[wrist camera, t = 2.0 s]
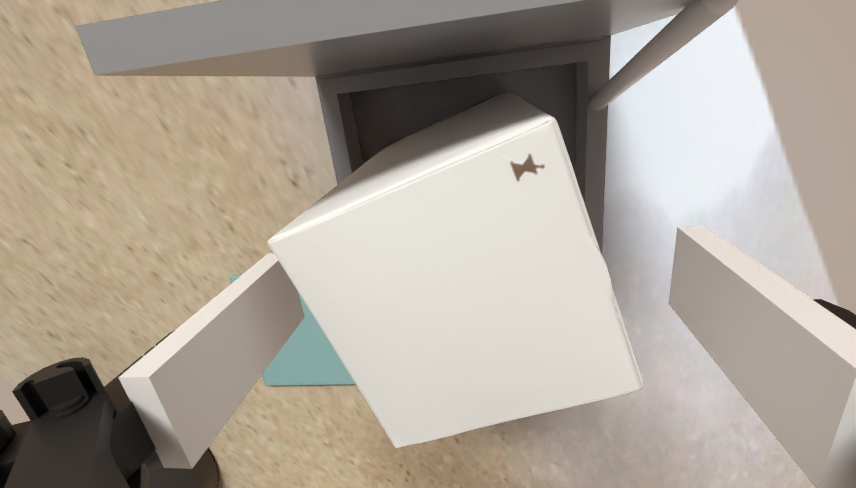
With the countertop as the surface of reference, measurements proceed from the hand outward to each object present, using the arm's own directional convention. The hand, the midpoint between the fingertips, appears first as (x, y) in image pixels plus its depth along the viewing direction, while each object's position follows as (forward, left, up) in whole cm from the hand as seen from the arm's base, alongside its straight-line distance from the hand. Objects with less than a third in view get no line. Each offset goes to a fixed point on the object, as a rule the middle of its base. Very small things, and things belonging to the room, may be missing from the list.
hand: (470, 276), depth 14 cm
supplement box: (0, 0, -13) cm, 13 cm away
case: (0, 0, -13) cm, 13 cm away
